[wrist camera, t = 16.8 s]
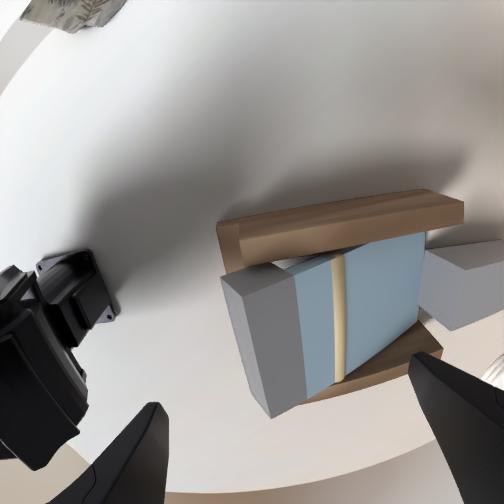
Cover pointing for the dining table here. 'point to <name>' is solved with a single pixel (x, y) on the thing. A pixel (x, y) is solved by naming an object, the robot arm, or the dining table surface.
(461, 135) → the dining table surface
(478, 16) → the dining table surface
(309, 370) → the trapdoor
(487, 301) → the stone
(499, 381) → the coaster
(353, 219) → the hatch frame
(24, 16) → the fossil rock
